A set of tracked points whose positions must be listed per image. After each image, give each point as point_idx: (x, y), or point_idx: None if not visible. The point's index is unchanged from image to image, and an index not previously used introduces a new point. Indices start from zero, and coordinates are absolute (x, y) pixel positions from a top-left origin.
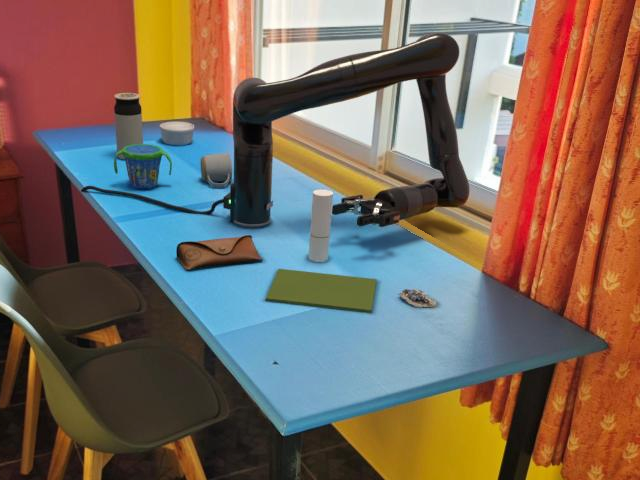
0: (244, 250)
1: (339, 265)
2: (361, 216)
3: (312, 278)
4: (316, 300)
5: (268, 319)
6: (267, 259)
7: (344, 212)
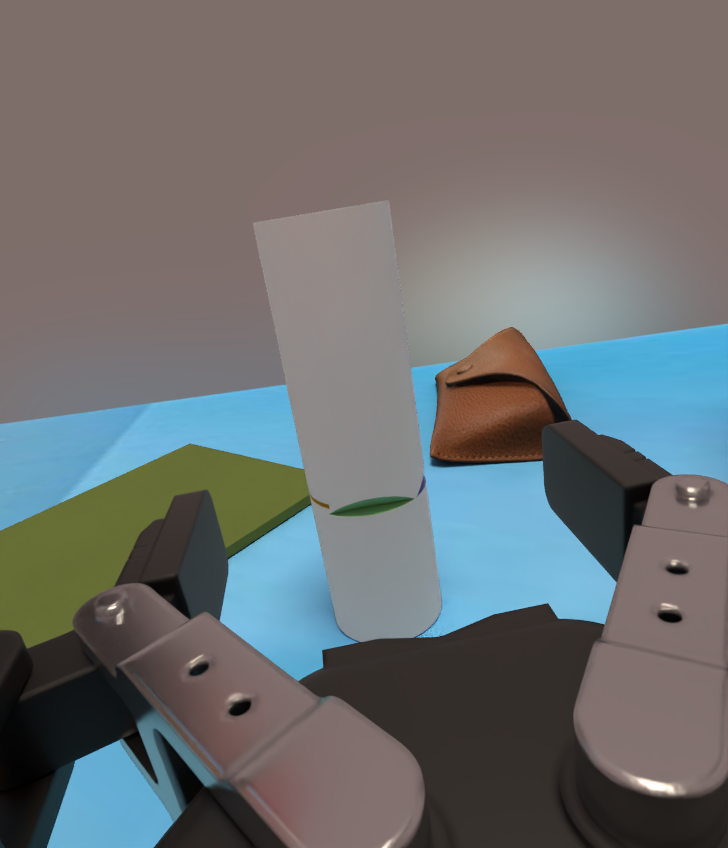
0: (460, 404)
1: None
2: (181, 502)
3: None
4: (68, 508)
5: (116, 447)
6: (454, 477)
7: (610, 571)
